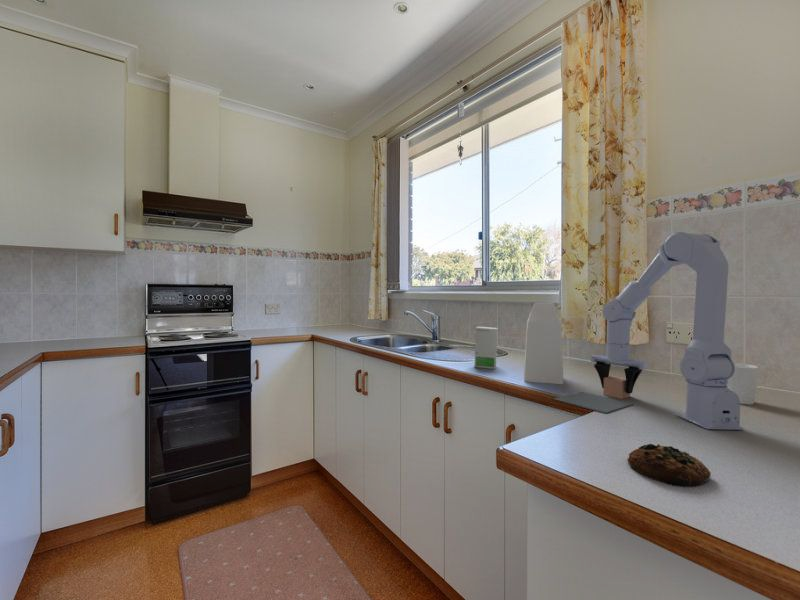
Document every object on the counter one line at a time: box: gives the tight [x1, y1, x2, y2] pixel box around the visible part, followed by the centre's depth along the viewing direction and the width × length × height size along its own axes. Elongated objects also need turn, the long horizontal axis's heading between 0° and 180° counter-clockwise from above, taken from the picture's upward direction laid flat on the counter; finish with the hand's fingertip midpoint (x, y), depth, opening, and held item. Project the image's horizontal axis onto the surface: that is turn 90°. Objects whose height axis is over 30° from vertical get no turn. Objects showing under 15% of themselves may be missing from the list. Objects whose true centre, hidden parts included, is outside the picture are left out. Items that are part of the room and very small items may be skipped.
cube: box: [603, 375, 631, 400], centre depth 109 cm, size 5×5×5 cm
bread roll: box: [626, 443, 712, 488], centre depth 63 cm, size 11×11×5 cm
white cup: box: [727, 362, 759, 405], centre depth 105 cm, size 8×8×10 cm
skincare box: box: [473, 326, 499, 370], centre depth 149 cm, size 8×7×16 cm
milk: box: [523, 302, 564, 385], centre depth 129 cm, size 12×12×26 cm
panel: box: [553, 391, 634, 415], centre depth 102 cm, size 14×14×1 cm
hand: (616, 390), depth 109 cm, fingers open, 6 cm apart
